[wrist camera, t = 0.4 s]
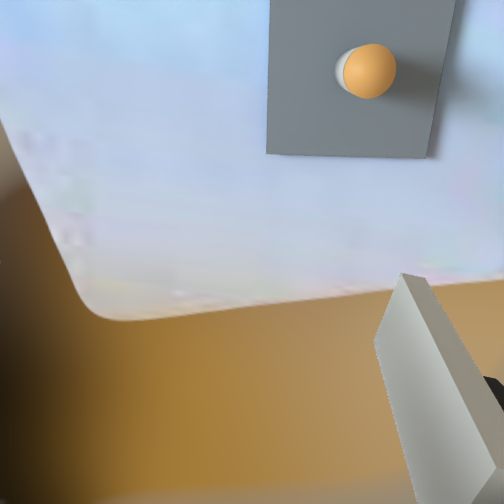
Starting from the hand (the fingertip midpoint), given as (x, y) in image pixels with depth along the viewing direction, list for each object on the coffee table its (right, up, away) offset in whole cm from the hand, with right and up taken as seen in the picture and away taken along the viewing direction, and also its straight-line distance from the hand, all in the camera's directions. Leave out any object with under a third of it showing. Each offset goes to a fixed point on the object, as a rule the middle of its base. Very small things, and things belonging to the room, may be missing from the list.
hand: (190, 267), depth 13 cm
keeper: (+10, +16, +21) cm, 28 cm away
